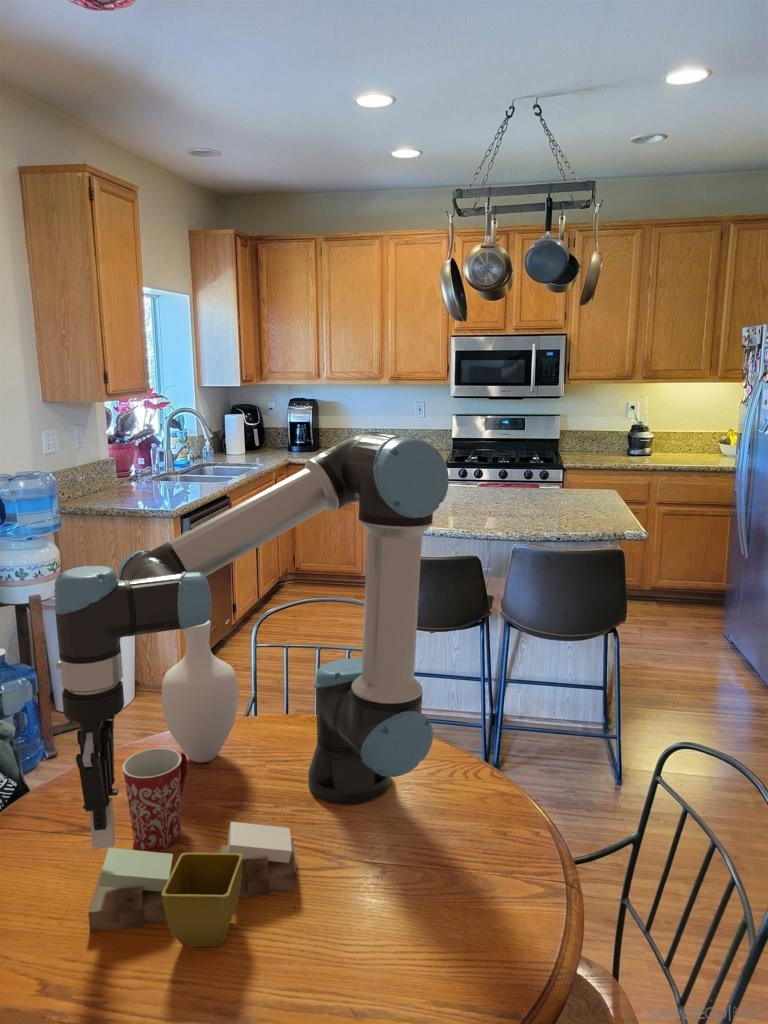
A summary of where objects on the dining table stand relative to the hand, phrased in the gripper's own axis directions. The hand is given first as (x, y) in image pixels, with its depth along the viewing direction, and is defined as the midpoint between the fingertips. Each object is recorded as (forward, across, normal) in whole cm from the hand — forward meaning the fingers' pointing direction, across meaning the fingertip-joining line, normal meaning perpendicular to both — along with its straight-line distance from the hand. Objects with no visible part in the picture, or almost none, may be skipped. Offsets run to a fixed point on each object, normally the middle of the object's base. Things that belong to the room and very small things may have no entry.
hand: (103, 844), depth 100 cm
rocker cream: (+6, -3, +21) cm, 22 cm away
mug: (+10, -17, +6) cm, 21 cm away
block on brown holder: (+10, -3, +21) cm, 23 cm away
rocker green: (+6, 0, +4) cm, 7 cm away
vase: (+10, -40, +11) cm, 43 cm away
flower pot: (+10, +7, +14) cm, 19 cm away
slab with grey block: (+10, 0, +4) cm, 11 cm away
